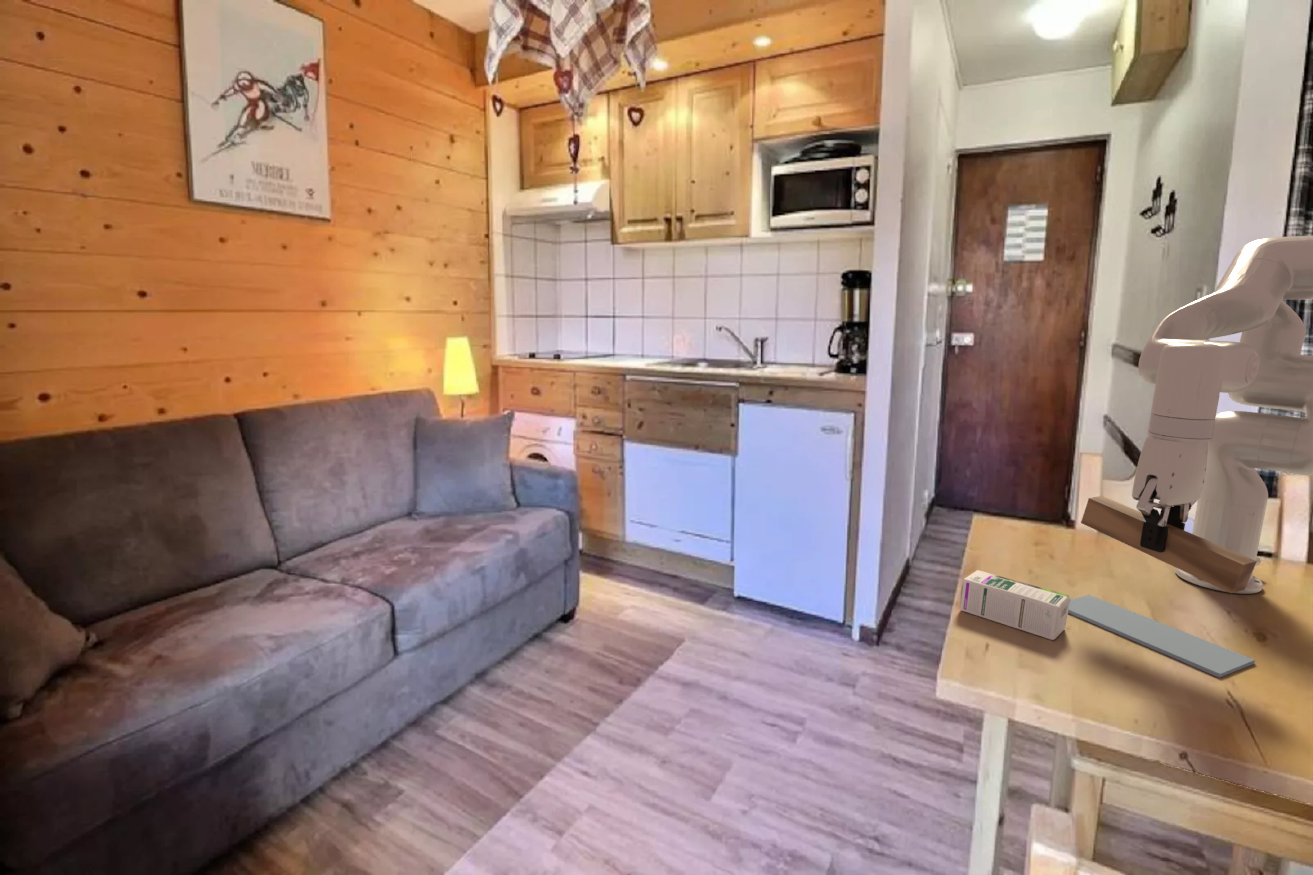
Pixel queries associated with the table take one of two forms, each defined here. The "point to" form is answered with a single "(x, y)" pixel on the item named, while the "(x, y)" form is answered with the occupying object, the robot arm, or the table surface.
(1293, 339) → the robot arm
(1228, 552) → the wooden beam
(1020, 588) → the syrup box
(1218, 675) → the rubber mat
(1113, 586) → the table surface
